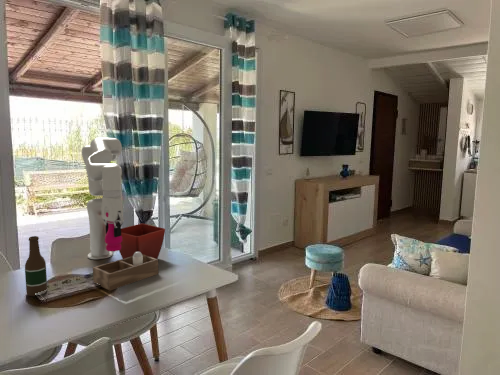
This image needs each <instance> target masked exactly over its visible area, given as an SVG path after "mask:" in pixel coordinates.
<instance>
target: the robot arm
mask: <svg viewBox="0 0 500 375" xmlns="http://www.w3.org/2000/svg"><path fill="white" fill-rule="evenodd" d="M122 147H123V146H122V143H121V140H119V139H118V138H116V137H96V138H94V139H92V140H91V141H90V143H89V145H84V146H82V148H81V158H82V160H83V163H84V165H85V171H86V174H87V182H88V190H89V191H88V192H89V194H90V195H91V196H95V197H97V198H92V199H90V200H89V201H88V202H87V203H86V209H87V214H88V222H89V242H90V244H89V245H90V247H89V248H88V250H90V252H89V253H88V254H87V258H88V259H90V260H104V259H108V258H111V257H112V256H114V255H113V254H114V252H113V251H107V250H106V246H107V244H106V243H105V236H106V234H107V232H108V226H109V225H108V223H107V220H108V221H111V222H114V226H115V228H114V237H118V236H121V228H123V223H124V222H125V219H124V210H123V200H122V175H123V170H122V167H121V165H119V164H118V163H111V162H114V161H117V160H118V159H119V157H120V155H121V153H122V150H123V148H122ZM98 197H100V198H98ZM106 212H108V214H109V215H108V217H106ZM117 219H118V220H117ZM116 222H118V223H116Z"/></svg>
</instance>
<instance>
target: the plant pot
mask: <svg viewBox="0 0 500 375" xmlns="http://www.w3.org/2000/svg"><path fill="white" fill-rule="evenodd" d="M165 234H166V228H164V227H159V226H156V225H155V226H154V225H152V224H146V223H138V224H133V225H129V226H126V227H121V235H122V242H121V243H120V244H121V250H119V251H118V252H119V254H120V255H121V259H124V258H128V257H131V256H133V255H134V253H135V252H141V253H142V254H143V255H146V256H149V257H152V258H155V259H158V258H159V255H160V253H161V250H162V246H163V242H164V239H165Z"/></svg>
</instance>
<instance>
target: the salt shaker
mask: <svg viewBox="0 0 500 375" xmlns="http://www.w3.org/2000/svg"><path fill="white" fill-rule="evenodd" d="M142 263H143V255H142V253H141V252H135V253H134V255H133V265H134V266H136V265H139V264H142Z"/></svg>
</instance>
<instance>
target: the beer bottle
mask: <svg viewBox="0 0 500 375" xmlns="http://www.w3.org/2000/svg"><path fill="white" fill-rule="evenodd" d="M39 239H40V238H39V236H37V235H34V236H30V237H28V241H29V243H28V244H29V248H28V249H29V253H28V258H27V259H26V261H25V265H24V275H25V276H24V278H25V288H26V289H25V290H26V291H25V292H26V295H27V296H29V297H32V298H33V297H36V296H35V293H38V292H41V291H44V290H46V289H47V290H48V278H47V264H46V259H45V258H44V257H43V256H42V254H41V252H40V244H39Z"/></svg>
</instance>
